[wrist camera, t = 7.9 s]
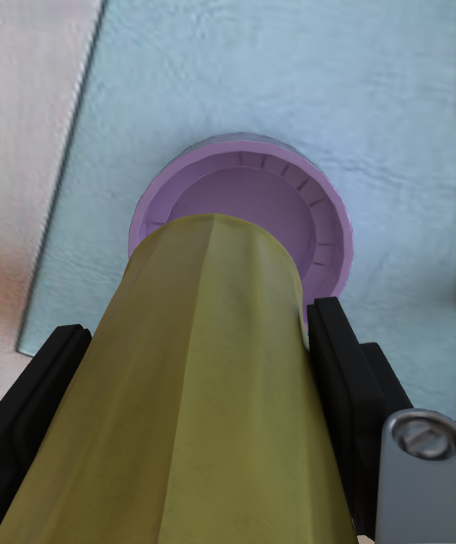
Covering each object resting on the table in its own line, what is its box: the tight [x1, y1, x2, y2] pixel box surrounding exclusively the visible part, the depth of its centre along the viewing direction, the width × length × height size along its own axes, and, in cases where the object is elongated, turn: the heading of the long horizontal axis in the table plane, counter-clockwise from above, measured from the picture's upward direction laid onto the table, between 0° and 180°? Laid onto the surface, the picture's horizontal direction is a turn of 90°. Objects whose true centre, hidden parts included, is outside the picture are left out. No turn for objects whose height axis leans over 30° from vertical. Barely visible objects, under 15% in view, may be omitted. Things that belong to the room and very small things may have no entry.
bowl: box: [128, 132, 353, 332], centre depth 30 cm, size 14×14×6 cm
